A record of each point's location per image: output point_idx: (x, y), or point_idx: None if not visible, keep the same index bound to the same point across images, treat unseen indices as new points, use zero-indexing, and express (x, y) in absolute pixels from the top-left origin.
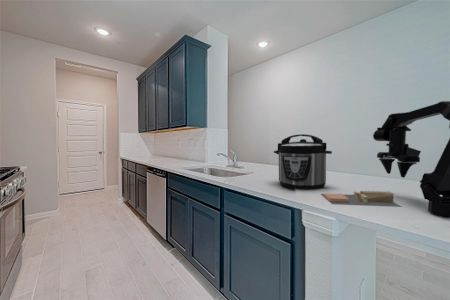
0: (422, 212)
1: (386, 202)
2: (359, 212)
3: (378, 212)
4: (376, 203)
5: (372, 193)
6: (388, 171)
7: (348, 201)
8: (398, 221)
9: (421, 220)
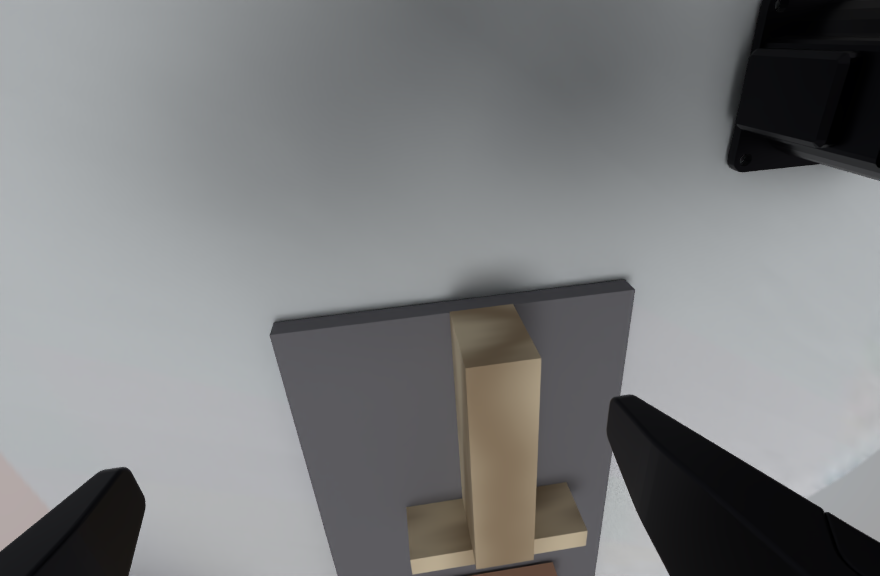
0: (704, 161)
1: None
2: None
3: None
4: (557, 431)
5: (533, 504)
6: (118, 546)
7: (554, 571)
8: (820, 402)
9: (838, 275)
